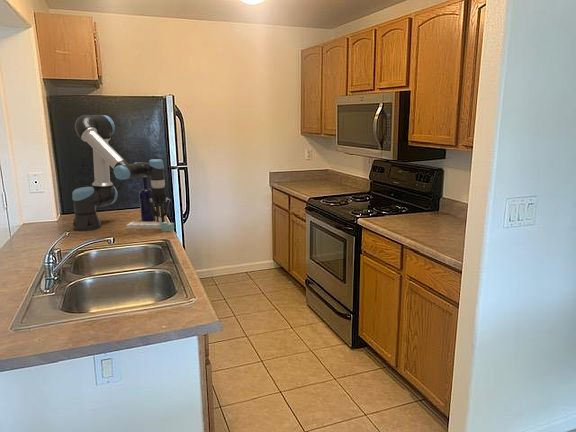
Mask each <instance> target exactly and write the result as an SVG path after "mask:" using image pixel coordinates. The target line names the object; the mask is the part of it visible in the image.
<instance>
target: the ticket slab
mask: <svg viewBox="0 0 576 432" xmlns="http://www.w3.org/2000/svg"><path fill="white" fill-rule="evenodd" d="M163 223H169V222H168V221H164V222H163ZM125 227H126V229H136V230H137V229H138V230H140V229H148V230H151V229H152V230H153V229H154V230H155V229H156V230H158V229H159V230H161V228H159V222H157V221H153V222H142V221H131V222H128V223H127V224H126V225H125Z"/></svg>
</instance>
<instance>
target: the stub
mask: <svg viewBox="0 0 576 432" xmlns="http://www.w3.org/2000/svg"><path fill="white" fill-rule="evenodd" d="M172 230H173V231H174V230H175V222H168V223H163V224H161V229H160V231H161V232H162V231H172ZM173 231H172V232H173Z"/></svg>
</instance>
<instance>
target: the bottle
mask: <svg viewBox="0 0 576 432" xmlns="http://www.w3.org/2000/svg"><path fill="white" fill-rule="evenodd" d="M141 178H142V184H143V188H141V190H140V191H139V192H138V193H139V206H140V218H141V219H140V221H141V222H157V218H156V216H153V213H152V210H151V207H150V204H149V202H148V200H149V199H150V198H151V196H152V191H151V188H149V185H148V184H149V183H148V178H149V176H141ZM153 204H154V205H155V202H154V201H153Z"/></svg>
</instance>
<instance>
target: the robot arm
mask: <svg viewBox="0 0 576 432" xmlns="http://www.w3.org/2000/svg"><path fill="white" fill-rule="evenodd" d="M74 130H75V133H76V135H77V136H78V137H79V139H80V140H82V141H83V142H85V143H87V144H88V145H89V146H90V147H91V148H92V158H93V174H94V175H93V177H94V181H93V182H92V184H91V186H83V187H78V188H75V189H74V190H73V191H72V192H71V193H72V194H71V195H72V196H71V197H72V198H71V199H72V202H73V203H72V204H73V211H74V218H73V223H72V230H74V231H77V232H78V231H79V232H81V231H84V232H85V231H91V230H97V229H100V228H101V227H102V222H101V220H100V218H99V216H98V214H97V208H101V207H106V206H110V205H112V204H114V203H115V202H116V201H117V199H118V190H117V188H116V187H115V186H114V182H112V181H111V174H110V171H111V170H110V167H111V168H112V169H113V174H114V176H115V178H116V179H117V180H120V181H121V180H128V179H133V178H139V177H143V176H147V177H149V178H150V185H151V186H150V187H151V188H150V189H151V191H152V196H151V198H150V199H149V200H148V202H149V204H150V207H151V210H152V213H153V216H155V218H156V222H159V228H161V224H163V222H166V221H165V216H168V214H169V206H170V202H171V201H172V200H171V198H169V197H167V194H166V187H165V186H166V182H165V181H166V180H165V166H164V161H163V159H160V158H157V159H156V158H154V159H153V158H152V159H149V161H148V162H144V161H143V162H142V161H136V162H133V163H128V162H127V161H126V160H125V159H124V158H123V157H122V156H121V155H120V154H119V153H118V152H117V151H116V150H115V149H114V148H113V147H112V146H111V145H110V144H109V141H110V140H111V139H112V135H113V134H114V133H115V130H116V126H115V123H114V120H113V119H112V118H111V117H110V116H108V115H105V114H83V115H81V116H79V117H78V118H77V119H76V120H75V123H74ZM153 201H154V204H153Z"/></svg>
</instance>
